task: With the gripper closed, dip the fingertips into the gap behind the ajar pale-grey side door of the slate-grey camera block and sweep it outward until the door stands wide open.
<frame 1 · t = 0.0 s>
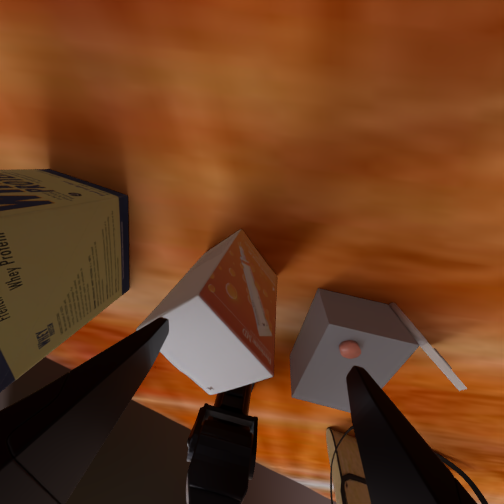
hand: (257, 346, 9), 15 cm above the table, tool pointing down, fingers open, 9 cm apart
clutch purse: (389, 441, 37), on the table
protein box: (96, 236, 26), on the table
camera block: (332, 333, 27), on the table
small box: (241, 263, 24), on the table
side door: (424, 343, 22), point 3 cm above the table, hinge at 55.0°
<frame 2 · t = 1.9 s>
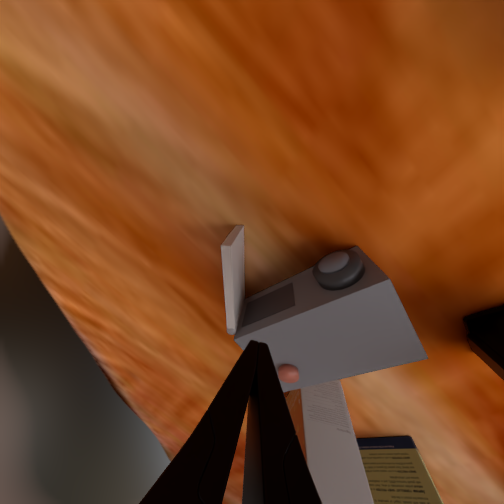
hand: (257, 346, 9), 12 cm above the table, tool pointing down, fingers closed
protein box: (368, 449, 34), on the table
camera block: (313, 303, 22), on the table
small box: (310, 387, 29), on the table
side door: (235, 278, 18), point 3 cm above the table, hinge at 55.0°
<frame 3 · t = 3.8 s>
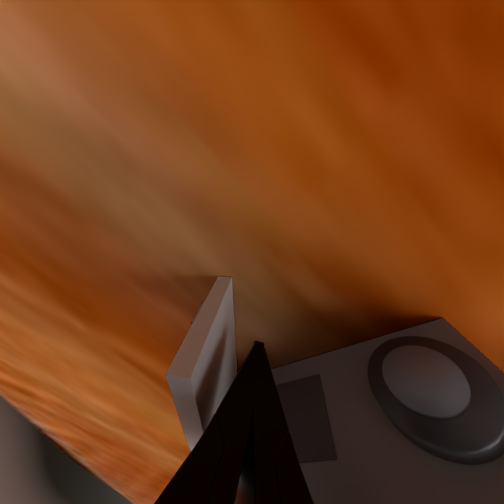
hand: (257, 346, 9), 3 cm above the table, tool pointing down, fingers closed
camera block: (348, 392, 13), on the table
side door: (216, 377, 10), point 3 cm above the table, hinge at 55.4°, touching gripper
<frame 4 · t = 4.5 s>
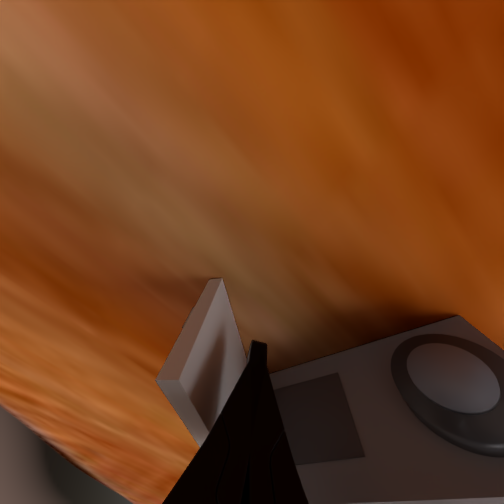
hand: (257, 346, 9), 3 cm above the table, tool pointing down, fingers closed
camera block: (361, 388, 14), on the table
side door: (224, 379, 10), point 3 cm above the table, hinge at 66.4°, touching gripper
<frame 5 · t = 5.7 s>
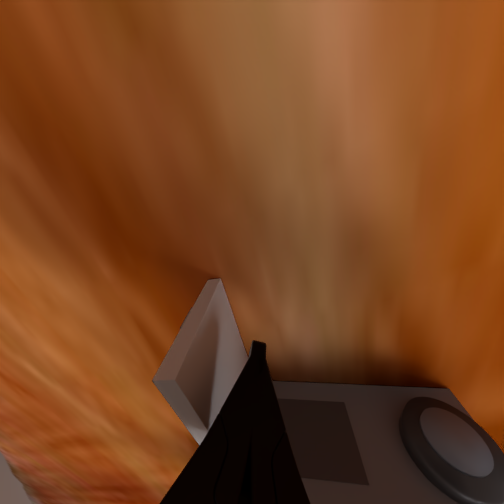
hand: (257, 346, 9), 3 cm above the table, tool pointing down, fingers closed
camera block: (336, 415, 15), on the table
side door: (225, 379, 10), point 3 cm above the table, hinge at 96.7°, touching gripper
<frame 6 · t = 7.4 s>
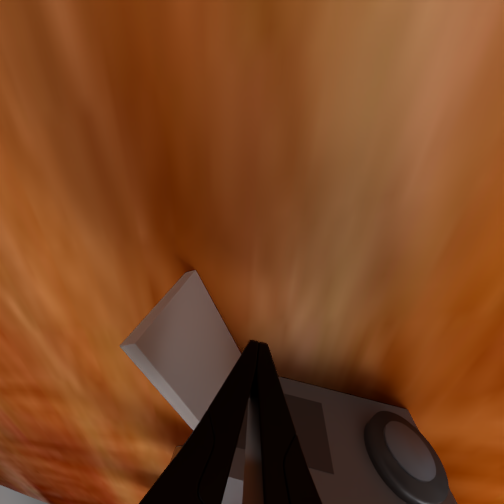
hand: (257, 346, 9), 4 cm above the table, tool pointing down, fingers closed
camera block: (305, 414, 17), on the table
side door: (205, 359, 11), point 3 cm above the table, hinge at 120.5°
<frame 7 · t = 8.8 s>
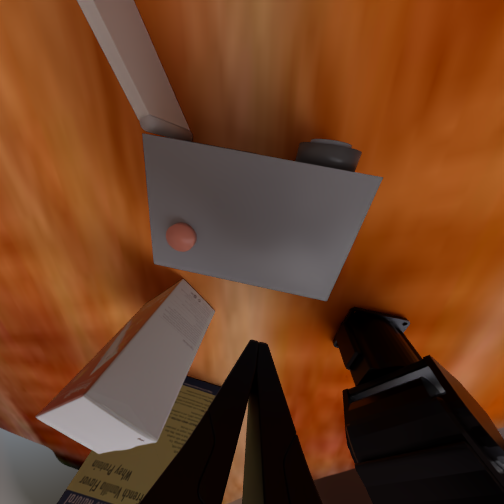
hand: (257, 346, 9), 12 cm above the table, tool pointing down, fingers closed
protein box: (187, 390, 34), on the table
camera block: (256, 209, 18), on the table
small box: (180, 305, 25), on the table
side door: (136, 57, 12), point 3 cm above the table, hinge at 120.6°
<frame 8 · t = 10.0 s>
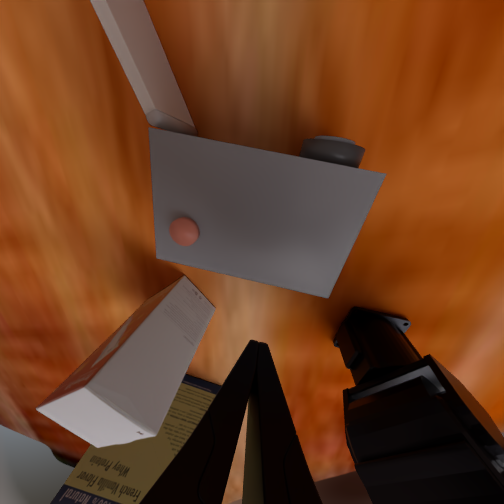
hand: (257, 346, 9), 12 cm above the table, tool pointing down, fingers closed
protein box: (185, 388, 34), on the table
camera block: (259, 206, 18), on the table
small box: (181, 302, 25), on the table
side door: (143, 53, 12), point 3 cm above the table, hinge at 120.6°
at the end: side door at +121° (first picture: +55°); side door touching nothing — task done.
